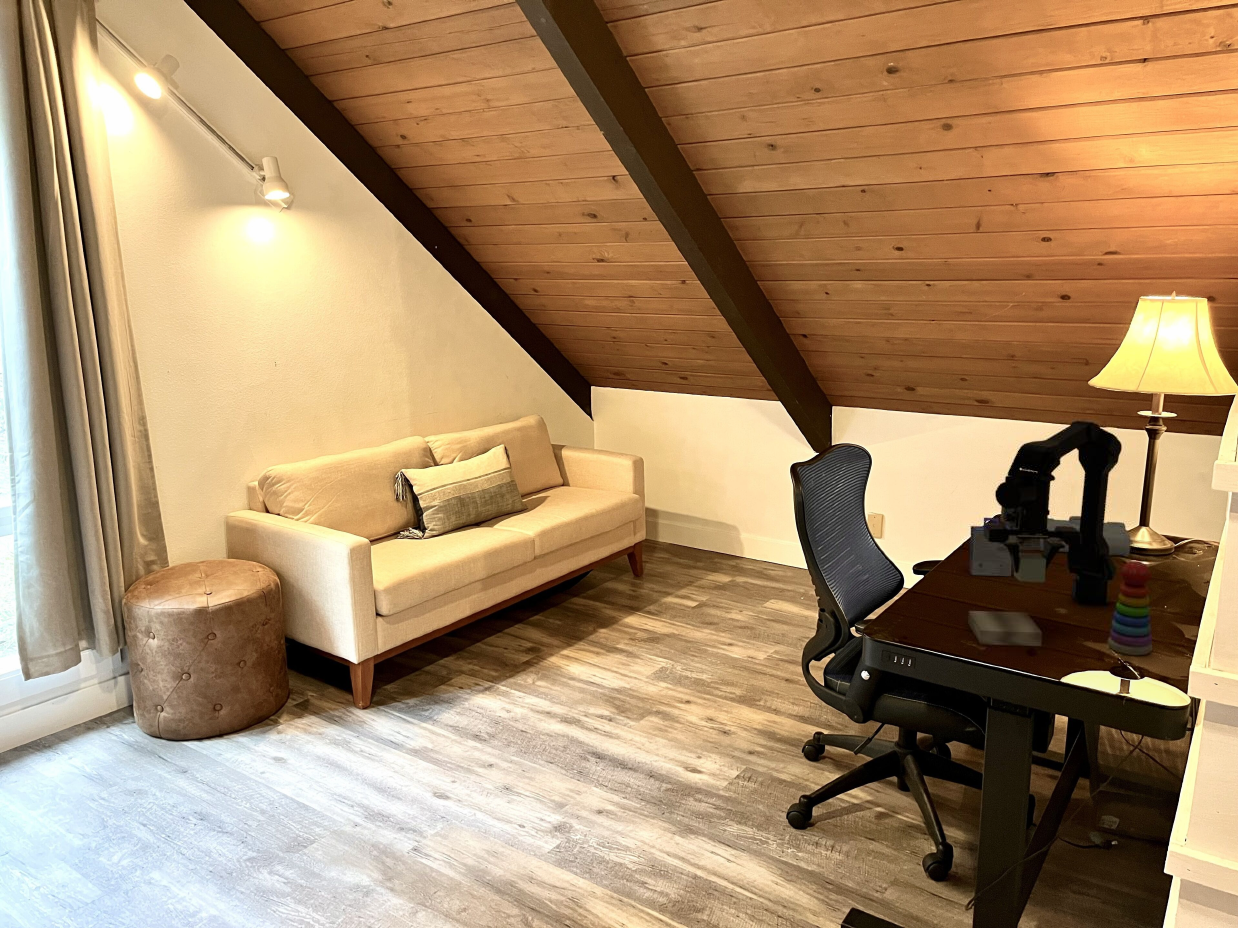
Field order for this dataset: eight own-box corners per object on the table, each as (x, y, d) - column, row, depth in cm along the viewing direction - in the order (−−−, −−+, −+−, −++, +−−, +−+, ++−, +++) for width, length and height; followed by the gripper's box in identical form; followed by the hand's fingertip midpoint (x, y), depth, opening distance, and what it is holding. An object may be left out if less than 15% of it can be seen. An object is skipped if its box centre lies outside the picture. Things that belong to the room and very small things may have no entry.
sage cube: (1037, 575, 201) (1039, 553, 200) (1044, 582, 196) (1046, 559, 195) (1013, 574, 202) (1015, 552, 201) (1019, 581, 197) (1021, 558, 196)
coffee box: (1007, 550, 257) (1010, 495, 254) (998, 544, 263) (1001, 490, 260) (1040, 550, 257) (1043, 494, 254) (1030, 543, 263) (1033, 489, 260)
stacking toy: (1099, 642, 190) (1105, 556, 187) (1135, 640, 191) (1142, 554, 188) (1122, 657, 183) (1129, 567, 179) (1160, 655, 183) (1168, 565, 180)
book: (1151, 561, 245) (1153, 533, 243) (1037, 553, 255) (1038, 526, 254) (1141, 543, 262) (1143, 517, 261) (1034, 536, 273) (1035, 511, 272)
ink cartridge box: (1007, 570, 240) (1010, 517, 237) (1012, 577, 234) (1015, 522, 232) (968, 569, 242) (970, 516, 239) (971, 575, 236) (974, 521, 234)
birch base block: (1025, 625, 201) (1026, 612, 201) (1041, 646, 190) (1041, 632, 189) (968, 623, 203) (968, 610, 203) (980, 644, 192) (981, 630, 191)
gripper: (1068, 496, 202) (1063, 564, 205) (980, 494, 205) (975, 561, 208) (1085, 507, 191) (1079, 578, 194) (991, 504, 194) (987, 575, 197)
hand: (1029, 572), depth 199 cm, fingers closed on sage cube, 5 cm apart
